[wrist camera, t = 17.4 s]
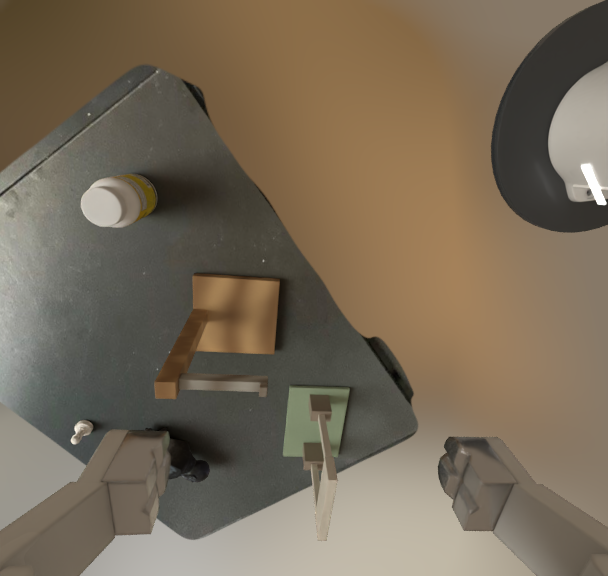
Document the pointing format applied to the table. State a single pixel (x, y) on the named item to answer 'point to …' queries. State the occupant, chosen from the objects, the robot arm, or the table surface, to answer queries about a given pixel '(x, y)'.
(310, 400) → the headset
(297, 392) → the mat
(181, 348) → the stand
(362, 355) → the table surface
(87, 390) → the table surface
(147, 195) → the supplement bottle
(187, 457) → the dark knob-ended part
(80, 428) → the chess pawn
